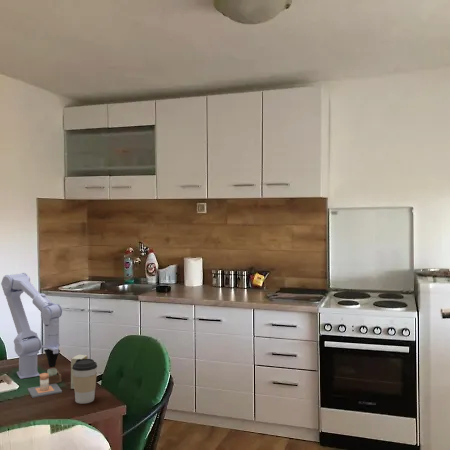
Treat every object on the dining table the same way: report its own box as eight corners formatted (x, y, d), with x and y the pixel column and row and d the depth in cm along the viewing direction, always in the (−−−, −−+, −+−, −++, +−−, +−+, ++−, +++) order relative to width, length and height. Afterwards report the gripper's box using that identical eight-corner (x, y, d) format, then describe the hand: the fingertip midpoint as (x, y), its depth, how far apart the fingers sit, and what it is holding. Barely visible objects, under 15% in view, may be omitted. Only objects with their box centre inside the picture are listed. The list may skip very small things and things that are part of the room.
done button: (46, 376, 209) (46, 369, 209) (55, 374, 211) (55, 367, 211) (48, 379, 206) (48, 371, 206) (57, 377, 208) (57, 370, 208)
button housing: (43, 380, 209) (43, 373, 209) (57, 377, 212) (57, 370, 212) (46, 384, 204) (46, 377, 204) (61, 382, 207) (61, 375, 207)
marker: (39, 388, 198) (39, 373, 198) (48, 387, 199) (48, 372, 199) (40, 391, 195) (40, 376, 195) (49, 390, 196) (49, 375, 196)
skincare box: (80, 390, 199) (80, 359, 198) (70, 389, 200) (70, 358, 199) (88, 384, 205) (88, 354, 205) (78, 383, 206) (78, 354, 205)
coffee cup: (102, 397, 191) (101, 358, 191) (88, 406, 183) (88, 365, 182) (81, 394, 194) (81, 355, 194) (67, 402, 186) (67, 362, 185)
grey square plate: (27, 389, 199) (27, 387, 199) (56, 384, 204) (56, 383, 204) (32, 397, 190) (32, 396, 190) (62, 392, 196) (62, 390, 196)
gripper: (38, 331, 212) (38, 363, 212) (45, 339, 199) (45, 373, 200) (55, 329, 215) (55, 361, 216) (63, 337, 203) (63, 370, 204)
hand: (52, 366), depth 208 cm, fingers closed
